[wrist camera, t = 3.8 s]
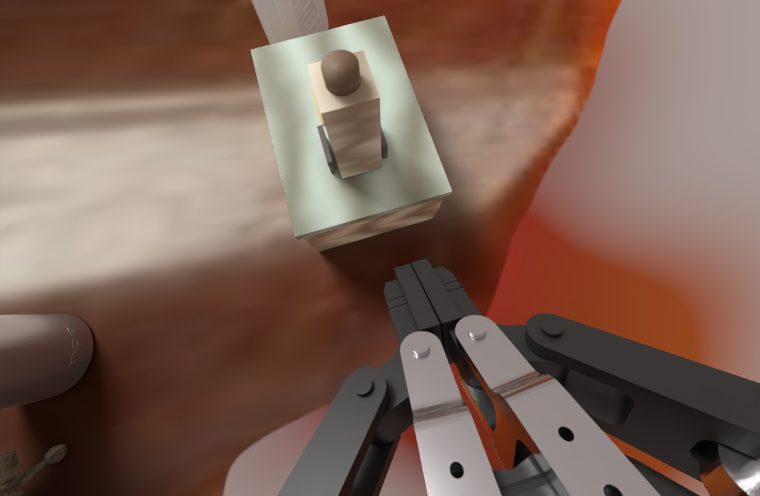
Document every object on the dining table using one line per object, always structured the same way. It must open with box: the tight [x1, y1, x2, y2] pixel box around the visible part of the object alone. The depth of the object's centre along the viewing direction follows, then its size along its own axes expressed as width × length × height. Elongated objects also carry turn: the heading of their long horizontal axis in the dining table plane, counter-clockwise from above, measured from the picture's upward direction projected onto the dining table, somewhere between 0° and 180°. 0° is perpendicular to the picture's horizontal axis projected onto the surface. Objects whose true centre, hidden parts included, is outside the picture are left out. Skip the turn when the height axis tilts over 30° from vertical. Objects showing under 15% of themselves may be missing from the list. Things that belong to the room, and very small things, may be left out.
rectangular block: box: [251, 16, 452, 252], centre depth 32 cm, size 16×23×10 cm
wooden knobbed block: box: [307, 50, 382, 178], centre depth 22 cm, size 4×4×10 cm
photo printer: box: [252, 0, 329, 45], centre depth 35 cm, size 10×4×12 cm, turn 155°
